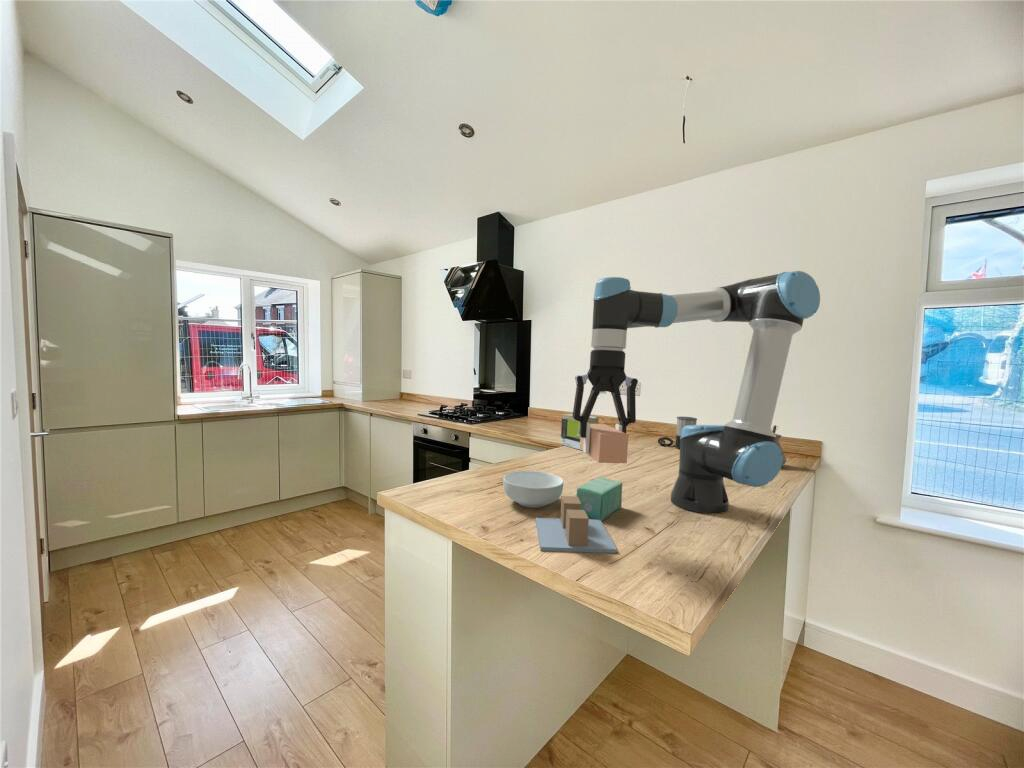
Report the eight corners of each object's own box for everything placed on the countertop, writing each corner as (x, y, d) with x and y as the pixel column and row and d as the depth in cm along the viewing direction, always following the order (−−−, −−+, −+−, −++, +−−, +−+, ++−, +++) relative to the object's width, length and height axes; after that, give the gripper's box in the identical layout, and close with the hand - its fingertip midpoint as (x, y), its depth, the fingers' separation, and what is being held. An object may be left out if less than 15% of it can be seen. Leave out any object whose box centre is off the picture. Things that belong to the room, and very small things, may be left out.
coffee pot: (784, 470, 163) (787, 432, 162) (750, 465, 170) (753, 428, 169) (788, 461, 180) (791, 426, 179) (758, 456, 187) (760, 423, 186)
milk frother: (698, 451, 195) (700, 419, 194) (664, 449, 195) (666, 418, 194) (686, 444, 209) (688, 415, 208) (655, 443, 209) (656, 414, 208)
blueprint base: (599, 522, 103) (601, 496, 103) (616, 552, 88) (618, 521, 87) (535, 520, 103) (536, 493, 103) (540, 550, 87) (541, 518, 87)
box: (574, 514, 109) (576, 486, 108) (597, 501, 120) (598, 476, 119) (600, 522, 104) (602, 493, 104) (621, 508, 115) (623, 481, 115)
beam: (604, 448, 101) (605, 424, 100) (626, 463, 87) (628, 434, 86) (579, 448, 100) (581, 423, 100) (598, 462, 86) (600, 433, 86)
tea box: (598, 449, 191) (599, 417, 190) (582, 451, 185) (583, 418, 184) (575, 442, 203) (576, 412, 203) (559, 444, 198) (561, 413, 197)
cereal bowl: (547, 519, 105) (548, 491, 104) (491, 506, 113) (491, 480, 112) (571, 500, 120) (572, 476, 119) (520, 489, 128) (521, 466, 127)
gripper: (645, 352, 96) (638, 451, 97) (562, 347, 96) (556, 447, 97) (657, 351, 89) (650, 458, 90) (567, 346, 88) (561, 454, 89)
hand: (601, 452), depth 93 cm, fingers closed on beam, 6 cm apart
